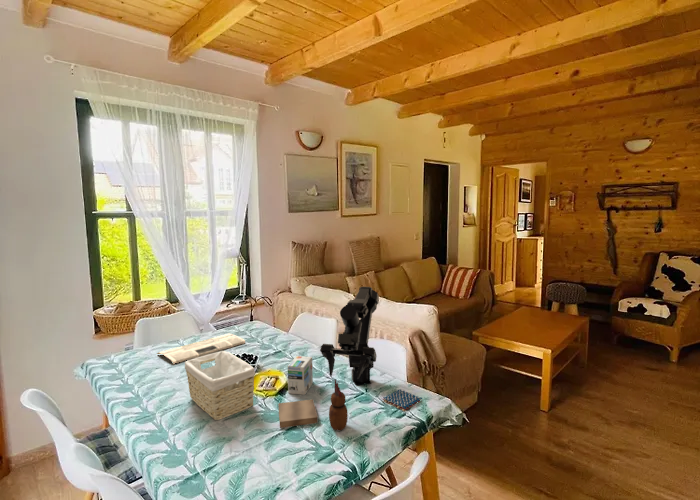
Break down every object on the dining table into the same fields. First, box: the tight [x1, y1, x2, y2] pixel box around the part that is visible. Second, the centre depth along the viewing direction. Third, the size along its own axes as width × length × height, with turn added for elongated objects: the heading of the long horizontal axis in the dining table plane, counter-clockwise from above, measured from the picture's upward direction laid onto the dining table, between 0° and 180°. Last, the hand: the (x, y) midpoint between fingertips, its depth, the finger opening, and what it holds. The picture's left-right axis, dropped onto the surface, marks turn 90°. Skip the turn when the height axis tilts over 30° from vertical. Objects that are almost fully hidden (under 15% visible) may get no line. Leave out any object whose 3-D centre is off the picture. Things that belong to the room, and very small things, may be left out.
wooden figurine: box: [328, 379, 349, 431], centre depth 122 cm, size 7×6×15 cm
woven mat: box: [382, 389, 422, 412], centre depth 139 cm, size 10×11×2 cm
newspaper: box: [156, 333, 246, 365], centre depth 194 cm, size 37×19×3 cm, turn 137°
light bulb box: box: [287, 355, 314, 396], centre depth 150 cm, size 11×7×11 cm, turn 168°
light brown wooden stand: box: [277, 398, 319, 429], centre depth 130 cm, size 12×12×2 cm
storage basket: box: [184, 350, 256, 421], centre depth 138 cm, size 24×16×15 cm
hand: (344, 376), depth 128 cm, fingers open, 9 cm apart
